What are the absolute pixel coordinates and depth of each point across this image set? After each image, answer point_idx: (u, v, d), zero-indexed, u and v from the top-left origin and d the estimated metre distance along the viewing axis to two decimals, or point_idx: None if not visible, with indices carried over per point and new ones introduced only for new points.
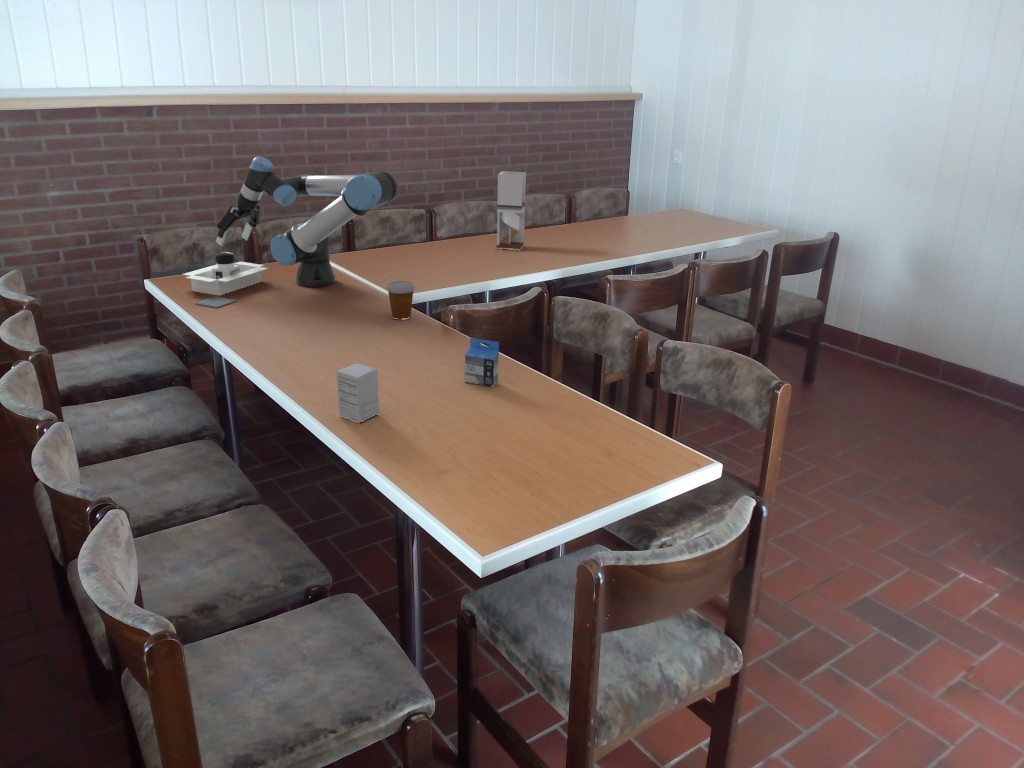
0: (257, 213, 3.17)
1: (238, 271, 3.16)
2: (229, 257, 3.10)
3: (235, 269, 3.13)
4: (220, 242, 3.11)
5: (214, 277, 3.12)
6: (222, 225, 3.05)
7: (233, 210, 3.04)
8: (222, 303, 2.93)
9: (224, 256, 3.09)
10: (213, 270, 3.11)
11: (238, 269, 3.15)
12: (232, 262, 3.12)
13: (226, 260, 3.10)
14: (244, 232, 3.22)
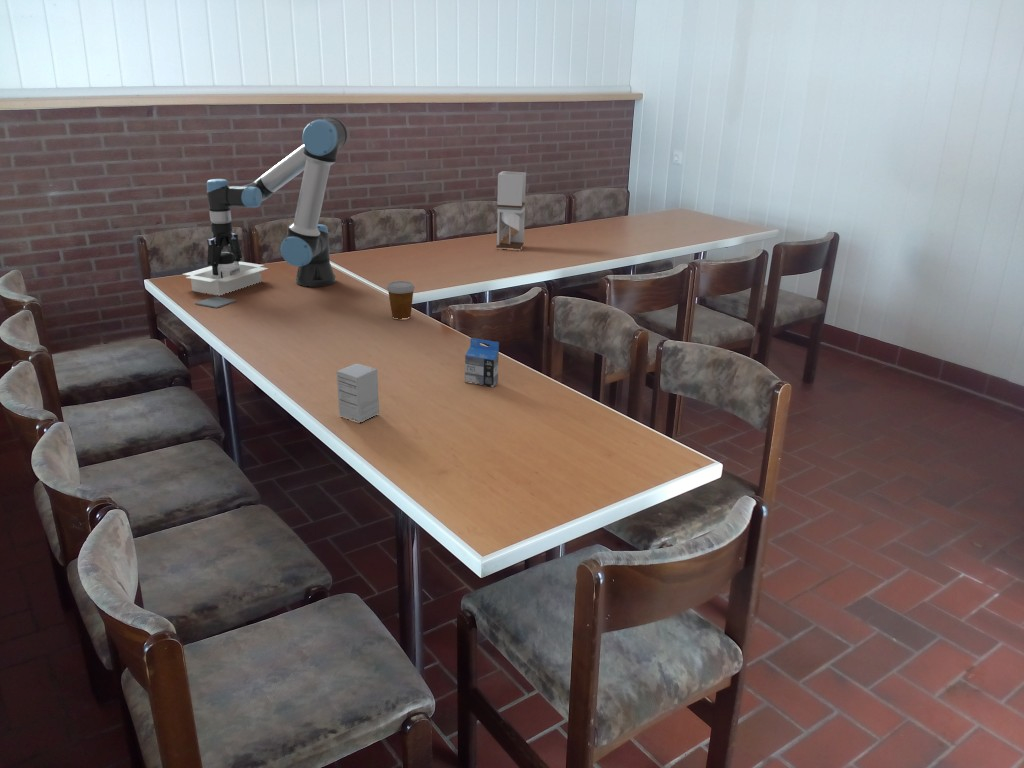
0: (237, 243, 3.15)
1: (238, 271, 3.16)
2: (229, 257, 3.10)
3: (235, 269, 3.13)
4: None
5: None
6: (211, 260, 3.05)
7: (210, 241, 3.03)
8: (222, 303, 2.93)
9: (224, 256, 3.09)
10: None
11: (238, 269, 3.15)
12: (232, 262, 3.12)
13: (226, 260, 3.10)
14: None
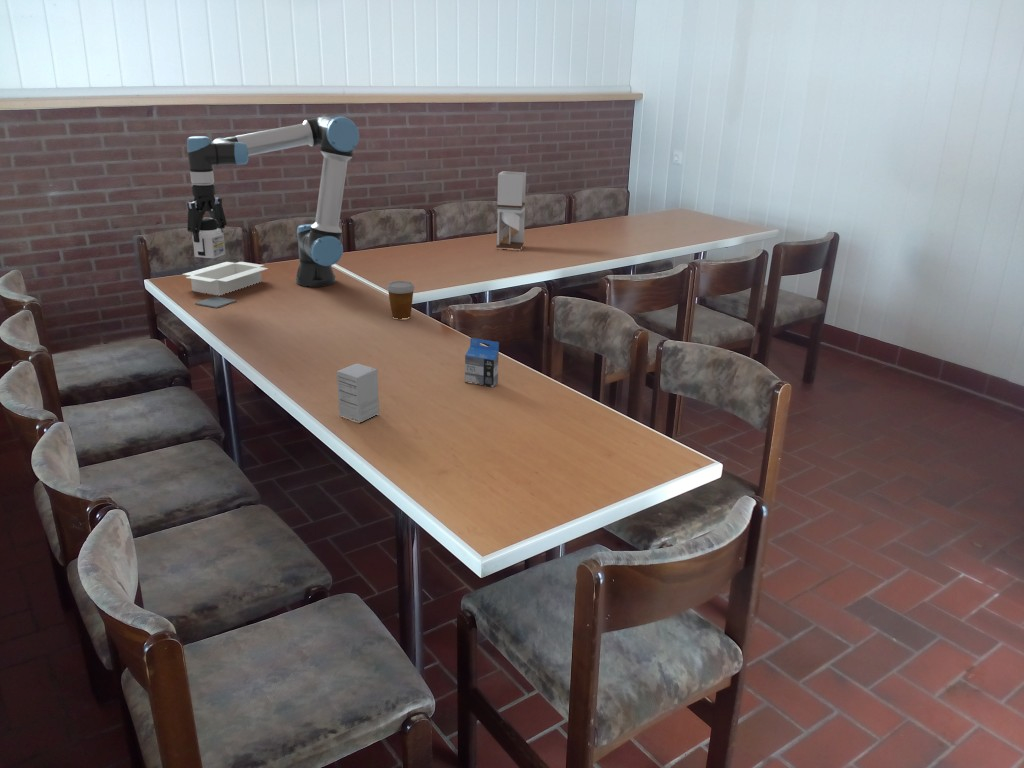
0: (221, 208, 2.89)
1: (221, 239, 2.89)
2: (211, 223, 2.84)
3: (218, 236, 2.87)
4: (200, 248, 2.84)
5: (195, 245, 2.85)
6: (191, 226, 2.79)
7: (191, 205, 2.77)
8: (222, 303, 2.93)
9: (206, 221, 2.83)
10: None
11: (221, 236, 2.89)
12: (215, 228, 2.85)
13: (208, 226, 2.83)
14: None
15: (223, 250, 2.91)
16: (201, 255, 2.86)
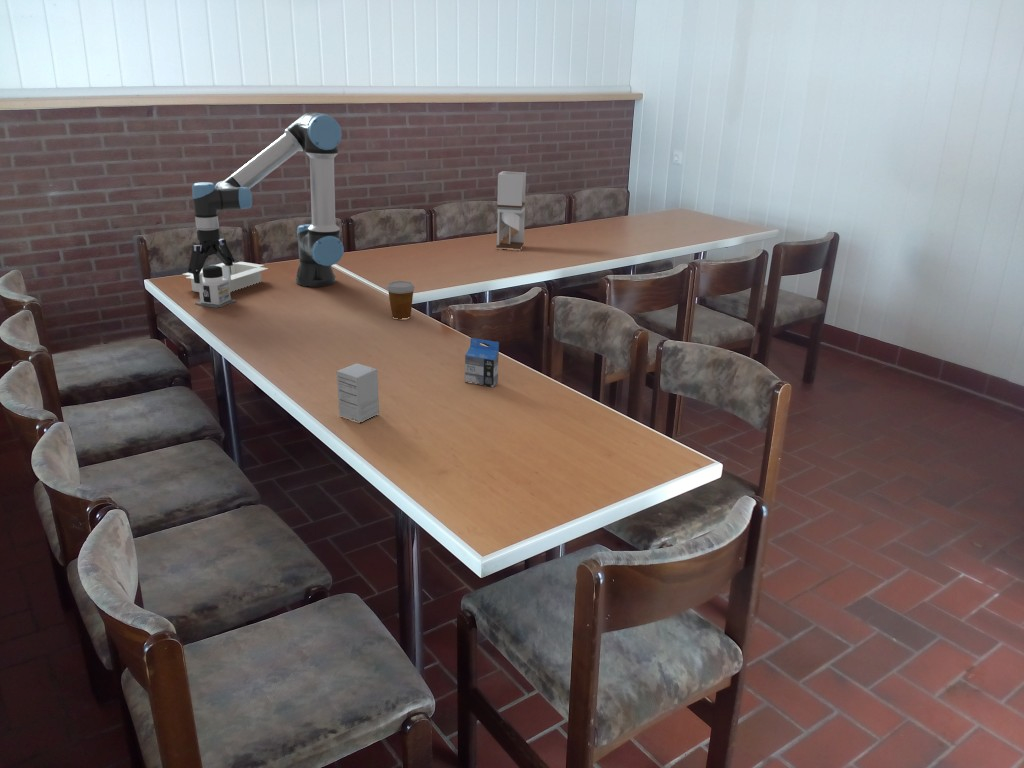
0: (227, 248, 2.94)
1: (227, 285, 2.95)
2: (217, 270, 2.89)
3: (223, 283, 2.92)
4: (200, 289, 2.87)
5: None
6: (192, 267, 2.82)
7: (196, 247, 2.82)
8: (222, 303, 2.93)
9: (211, 269, 2.88)
10: None
11: (227, 283, 2.94)
12: (220, 276, 2.91)
13: (213, 273, 2.89)
14: (225, 276, 2.98)
15: (228, 296, 2.96)
16: (207, 302, 2.92)
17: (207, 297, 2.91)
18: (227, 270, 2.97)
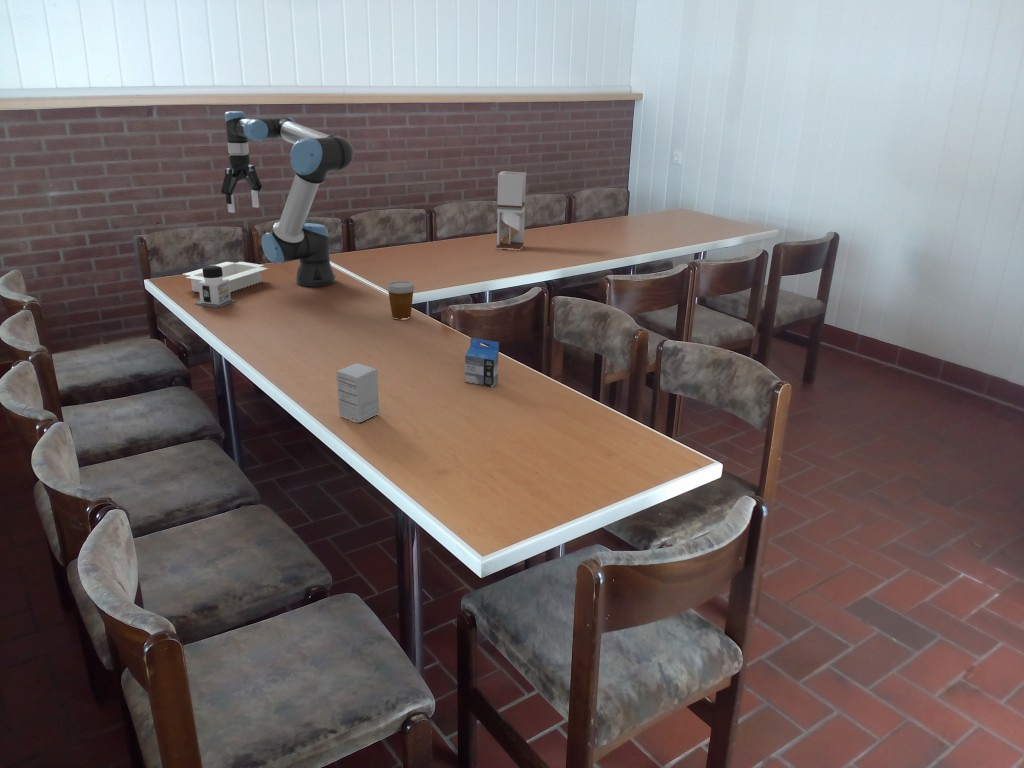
0: (255, 174, 3.22)
1: (227, 285, 2.95)
2: (217, 270, 2.89)
3: (223, 283, 2.92)
4: (232, 209, 3.14)
5: (201, 291, 2.91)
6: (225, 188, 3.09)
7: (228, 170, 3.09)
8: (222, 303, 2.93)
9: (211, 269, 2.88)
10: (200, 285, 2.90)
11: (227, 283, 2.94)
12: (220, 276, 2.91)
13: (213, 273, 2.89)
14: (253, 201, 3.26)
15: (228, 296, 2.96)
16: (207, 302, 2.92)
17: (207, 297, 2.91)
18: (255, 195, 3.24)
